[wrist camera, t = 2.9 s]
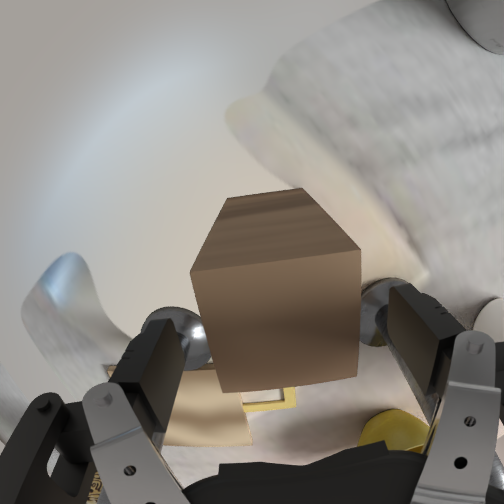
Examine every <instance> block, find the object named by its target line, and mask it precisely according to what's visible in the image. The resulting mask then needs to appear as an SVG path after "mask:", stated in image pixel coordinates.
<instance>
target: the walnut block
mask: <svg viewBox="0 0 504 504" xmlns="http://www.w3.org/2000/svg"><path fill="white" fill-rule="evenodd" d="M190 276H191V280H192V284H193V289H194V293H195V297H196V301H197V304H198V308H199V312H200V316H201V320H202V324H203V327H204V331H205V335H206V338H207V342H208V346H209V349H210V353H211V356H212V360H213V363H214V366H215V370H216V373H217V377H218V380H219V383H220V387H221V390H222V393H237V392H250V391H261V390H271V389H280V388H288V387H296V386H303V385H310V384H317V383H323V382H329V381H335V380H340V379H346V378H351V377H356V376H357V368H358V355H359V339H360V317H361V249H360V248H359V247H358V246H357V245H356V243H355V242H354V241H353V240H352V239H351V238H350V237H349V236H348V235H347V234H346V233H345V232H344V230H343V229H342V228H341V227H340V226H339V225H338V224H337V223H336V222H335V221H334V220H333V219H332V218H331V217H330V216H329V215H328V214H327V213H326V211H325V210H324V209H323V208H322V207H321V206H320V205H319V204H318V203H317V202H316V201H315V200H314V199H313V198H312V197H311V196H310V195H309V194H308V193H307V192H306V191H305V190H304V189H303V188H299V189H291V190H283V191H276V192H267V193H260V194H253V195H246V196H240V197H233V198H227V200H226V201H225V203H224V205H223V207H222V209H221V211H220V213H219V215H218V217H217V219H216V221H215V222H214V225H213V227H212V228H211V231H210V232H209V234H208V236H207V238H206V240H205V242H204V244H203V246H202V248H201V250H200V252H199V254H198V256H197V258H196V261H195V262H194V264H193V266H192V268H191V270H190Z"/></svg>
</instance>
